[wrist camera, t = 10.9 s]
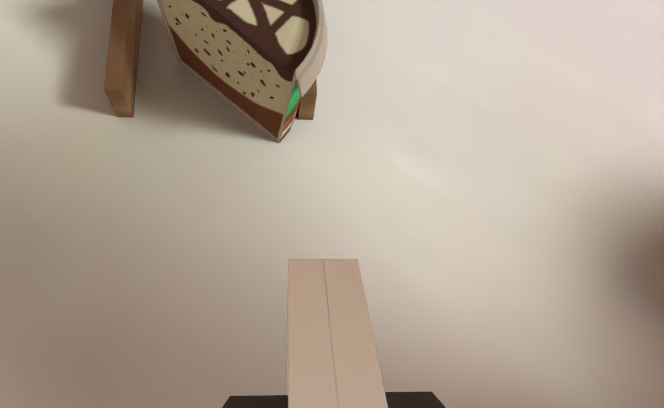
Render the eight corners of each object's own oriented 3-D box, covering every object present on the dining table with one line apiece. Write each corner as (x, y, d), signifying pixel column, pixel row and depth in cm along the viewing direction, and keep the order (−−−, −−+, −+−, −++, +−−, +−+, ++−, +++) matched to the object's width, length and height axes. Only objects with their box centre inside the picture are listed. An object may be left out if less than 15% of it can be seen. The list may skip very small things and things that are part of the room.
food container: (353, 97, 43) (377, 6, 34) (295, 157, 41) (304, 77, 32) (223, -4, 45) (211, -118, 35) (162, 48, 43) (132, -57, 33)
